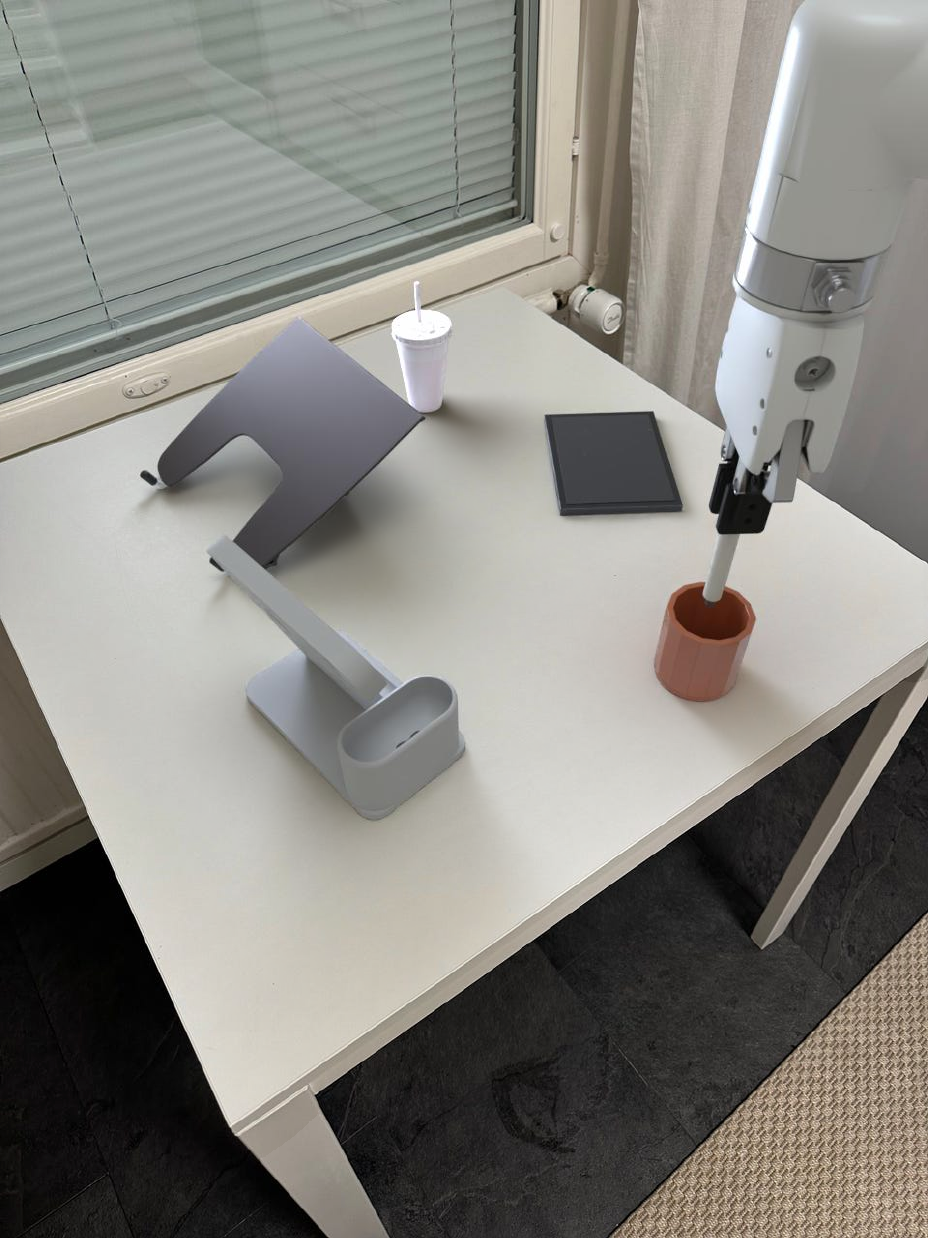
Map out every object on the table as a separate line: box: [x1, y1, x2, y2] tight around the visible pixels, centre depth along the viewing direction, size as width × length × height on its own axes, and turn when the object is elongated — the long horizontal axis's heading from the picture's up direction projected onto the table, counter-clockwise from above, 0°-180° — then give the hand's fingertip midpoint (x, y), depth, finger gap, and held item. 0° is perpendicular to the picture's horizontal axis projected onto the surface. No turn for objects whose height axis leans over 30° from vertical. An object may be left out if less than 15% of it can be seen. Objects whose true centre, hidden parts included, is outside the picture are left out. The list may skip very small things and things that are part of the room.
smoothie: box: [391, 281, 453, 414], centre depth 95 cm, size 6×6×14 cm
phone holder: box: [206, 533, 466, 821], centre depth 64 cm, size 17×10×18 cm, turn 43°
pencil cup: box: [654, 581, 757, 702], centre depth 71 cm, size 7×7×7 cm
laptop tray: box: [139, 316, 426, 575], centre depth 88 cm, size 23×23×9 cm
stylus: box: [703, 458, 741, 608], centre depth 63 cm, size 1×1×14 cm
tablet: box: [543, 410, 684, 516], centre depth 92 cm, size 12×16×1 cm
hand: (735, 519), depth 62 cm, fingers closed on stylus, 1 cm apart
